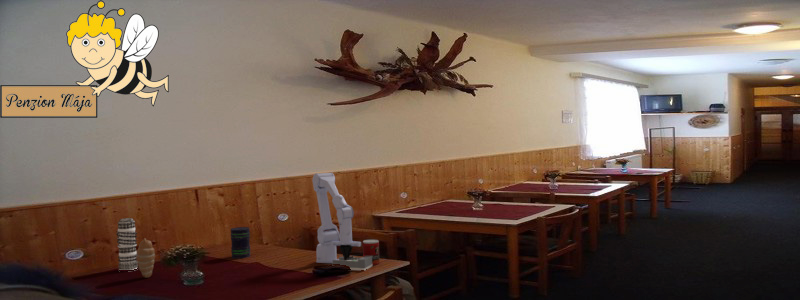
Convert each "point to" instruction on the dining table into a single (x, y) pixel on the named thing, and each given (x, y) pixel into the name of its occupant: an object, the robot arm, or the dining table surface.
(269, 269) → the dining table surface
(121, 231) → the decorative candle
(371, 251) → the canned food
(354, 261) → the gauge housing
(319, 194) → the robot arm
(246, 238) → the storage jar
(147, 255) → the tan ridged cocoon
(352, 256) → the plunger
